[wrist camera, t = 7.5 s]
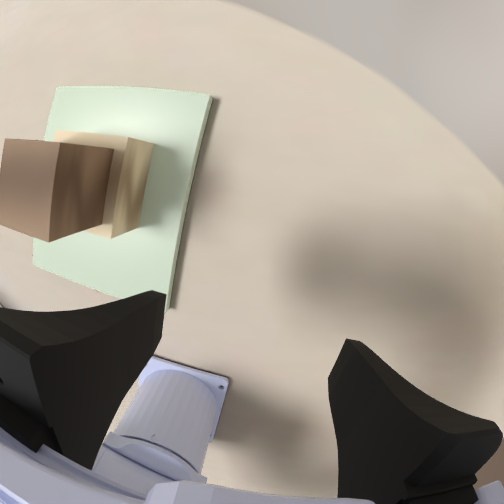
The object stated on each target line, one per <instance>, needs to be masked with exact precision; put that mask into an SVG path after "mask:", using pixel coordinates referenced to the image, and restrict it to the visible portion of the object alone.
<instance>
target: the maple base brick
mask: <svg viewBox="0 0 504 504" xmlns="http://www.w3.org/2000/svg"><path fill="white" fill-rule="evenodd" d="M53 142H62V143H71V144H80V145H88V146H96V147H104V148H111V149H114V153H113V158H112V163H111V168H110V174H109V180H108V186H107V192H106V198H105V205H104V213H103V221H102V225H99V226H96V227H93V228H90V229H87V230H84V231H85V232H89V233H92V234H95V235H99V236H102V237H106V238H109V239H112V238H115V237H117V236H119V235H122V234H124V233H127V232H129V231H132V230H134V229H136V228H139V222H140V216H141V210H142V204H143V198H144V192H145V187H146V182H147V177H148V172H149V167H150V162H151V158H152V153H153V149H154V145H155V144H154V143H150V142H146V141H142V140H138V139H134V138H130V137H123V136H115V135H106V134H97V133H87V132H76V131H63V130H55V133H54V138H53Z"/></svg>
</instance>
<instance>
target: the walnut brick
mask: <svg viewBox="0 0 504 504" xmlns="http://www.w3.org/2000/svg"><path fill="white" fill-rule="evenodd" d="M113 153H114V149H111V148H104V147H96V146H88V145H80V144H71V143H62V142H51V141H38V140H24V139H5V142H4V148H3V155H2V162H1V170H0V225H3V226H5V227H8V228H10V229H13V230H16V231H18V232H21V233H24V234H26V235H29V236H32V237H34V238H37V239H40V240H43V241H45V242H48V243H49V242H52V241H55V240H58V239H60V238H63V237H66V236H69V235H72V234H75V233H78V232H81V231H84V230H87V229H90V228H93V227H96V226H99V225H102V221H103V213H104V205H105V198H106V192H107V186H108V180H109V174H110V168H111V163H112V158H113Z"/></svg>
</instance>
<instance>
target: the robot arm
mask: <svg viewBox="0 0 504 504" xmlns="http://www.w3.org/2000/svg"><path fill="white" fill-rule="evenodd" d="M166 296H167V294H164V293H160V292H157V291H154V290H150V291H146V292H143V293H139V294H136V295H133V296H130V297H127V298H124V299H121V300H118V301H114V302H110V303H107V304H103V305H99V306H95V307H90V308H85V309H78V310H71V311H55V312H33V311H21V310H14V309H8V308H2V307H0V503H1V504H504V488H503V486H502V484H501V482H500V481H495V482H492V483H490V484H487V485H484V486H482V487H480V488H478V489H477V490H474V488H473V484H475V483H476V482H477V478H476V476H475V473H476V472H477V471H478V470H479V469H480V468H481V467H482V466H483V465H484V464H485V463H486V462H487V461H488V460H489V459H490V457H492V455H493V454H494V453H495V452H496V451H497V449H498V447H499V446H500V444H501V441H502V438H503V433H502V432H501V430H500V429H499V427H498V426H497V424H496V423H495V422H493V421H490V420H486V419H482V418H479V417H475V416H472V415H469V414H466V413H464V412H461V411H458V410H456V409H454V408H451V407H449V406H447V405H445V404H443V403H441V402H439V401H437V400H436V399H434V398H432V397H430V396H429V395H427V394H425V393H424V392H422V391H421V390H419V389H418V388H416V387H415V386H414V385H412V384H411V383H409V382H408V381H407V380H406V379H404V378H403V377H402V376H401V375H399V374H398V373H397V372H396V371H395V370H393V369H392V368H391V367H390V366H389V365H388V364H387V363H385V362H384V361H383V360H382V359H381V358H380V357H379V356H378V355H376V354H375V353H374V352H373V351H372V350H371V349H370V348H368V347H367V346H366V345H365V344H363V343H362V342H360V341H356V340H351V339H346V340H345V343H344V345H343V347H342V349H341V352H340V354H339V356H338V358H337V360H336V362H335V365H334V367H333V369H332V371H331V373H330V375H329V377H328V392H329V402H330V408H331V413H332V418H333V423H334V429H335V434H336V439H337V447H338V468H339V473H338V498H311V497H294V496H283V495H273V494H265V493H258V492H251V491H245V490H239V489H233V488H228V487H223V486H218V485H214V484H206V482H207V477H204V476H202V475H201V471H202V467H203V463H204V459H205V455H206V451H207V447H208V443H209V442H212V441H213V437H214V434H215V430H216V427H217V423H218V419H219V416H220V412H221V409H222V405H223V402H224V398H225V394H226V391H227V387H228V383H229V380H228V379H227V378H226V377H223V376H219V375H215V374H211V373H207V372H204V371H200V370H197V369H193V368H190V367H186V366H183V365H180V364H177V363H173V362H170V361H167V360H164V359H161V358H158V357H155V356H153V354H154V352H155V350H156V348H157V346H158V344H159V342H160V340H161V337H162V328H163V319H164V311H165V303H166ZM138 376H139V390H138V391H137V393H136V395H135V396H134V398H133V400H132V401H131V403H130V405H129V406H128V408H127V410H126V411H125V413H124V415H123V417H122V418H121V420H120V422H119V423H118V425H117V427H116V428H115V430H114V432H110V433H109V434H108V436H107V438H106V439H105V441H104V443H103V444H102V442H103V440H104V437H105V435H106V433H107V431H108V429H109V426H110V424H111V422H112V420H113V418H114V416H115V414H116V412H117V410H118V408H119V406H120V404H121V402H122V400H123V398H124V397H125V395H126V394H127V392H128V391H129V389H130V388H131V386H132V385H133V383H134V382H135V380H136V379H137V378H138ZM220 385H222V386H224V387H220Z"/></svg>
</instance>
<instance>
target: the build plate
mask: <svg viewBox="0 0 504 504" xmlns="http://www.w3.org/2000/svg"><path fill="white" fill-rule="evenodd" d="M212 100H213V98H212V96H211V95H209V94H202V93H195V92H187V91H179V90H169V89H159V88H146V87H128V86H64V87H57V88H56V92H55V95H54V99H53V102H52V106H51V110H50V114H49V118H48V123H47V127H46V132H45V137H44V141H51V142H53V138H54V133H55V130H63V131H76V132H87V133H97V134H106V135H115V136H123V137H130V138H134V139H138V140H142V141H146V142H150V143H154V144H155V145H154V149H153V153H152V158H151V162H150V167H149V172H148V177H147V182H146V187H145V192H144V198H143V204H142V210H141V216H140V222H139V228H136V229H134V230H132V231H129V232H127V233H124V234H122V235H119V236H117V237H115V238H112V239H109V238H106V237H102V236H99V235H95V234H92V233H89V232H85V231H81V232H78V233H75V234H72V235H69V236H66V237H63V238H60V239H58V240H55V241H52V242H49V243H48V242H45V241H43V240H40V239H37V238H34V237H33V265H34V266H37V267H39V268H41V269H44V270H46V271H48V272H51V273H53V274H56V275H58V276H60V277H63V278H65V279H68V280H71V281H73V282H76V283H78V284H81V285H83V286H86V287H89V288H91V289H94V290H97V291H100V292H102V293H105V294H108V295H111V296H113V297H116V298H119V299H124V298H127V297H130V296H133V295H136V294H139V293H143V292H146V291H150V290H154V291H157V292H160V293H164V294H167V296H166V303H165V311H164V313H166V312H167V311H168V309H169V307H170V300H171V293H172V287H173V280H174V274H175V268H176V262H177V256H178V250H179V245H180V239H181V234H182V229H183V223H184V218H185V213H186V208H187V203H188V199H189V194H190V189H191V185H192V180H193V176H194V171H195V167H196V163H197V158H198V154H199V150H200V146H201V142H202V138H203V134H204V130H205V126H206V122H207V119H208V115H209V111H210V107H211V104H212Z"/></svg>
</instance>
